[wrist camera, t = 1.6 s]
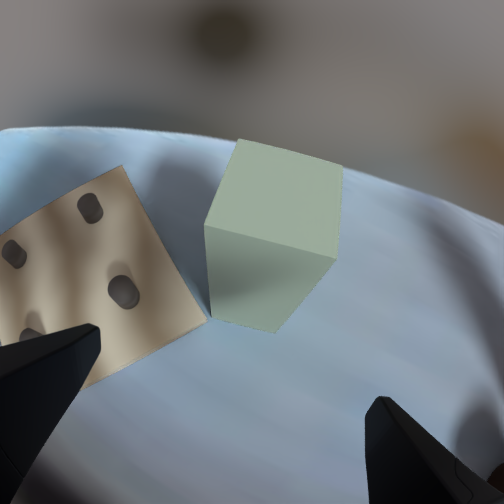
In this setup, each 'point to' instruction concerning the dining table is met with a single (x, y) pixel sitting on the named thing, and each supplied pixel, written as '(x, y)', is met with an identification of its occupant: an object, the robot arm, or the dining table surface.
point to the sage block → (270, 233)
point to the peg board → (94, 275)
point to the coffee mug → (497, 478)
